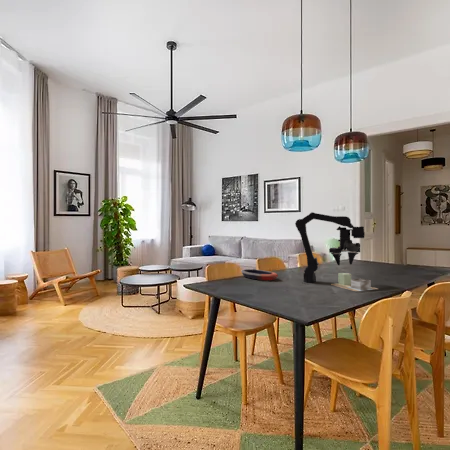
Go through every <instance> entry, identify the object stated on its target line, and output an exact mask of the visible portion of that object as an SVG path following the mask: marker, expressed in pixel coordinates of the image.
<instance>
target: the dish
mask: <svg viewBox="0 0 450 450" xmlns="http://www.w3.org/2000/svg"><path fill="white" fill-rule="evenodd" d="M240 271H241V274H242V276H243V277H245V278H247V279H250V278H252V279H251V280H255V279H257V281H268V280H269V281H275V280H277V278H278V277H279V275H278V274H277V273H276V272H275V271H274V272H273V271H270V270H269V271H268V270H262V269H256V268H253V269H252V268H251V269H250V268H249V269H247V268H245V269H241V270H240Z"/></svg>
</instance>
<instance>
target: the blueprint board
mask: <svg viewBox="0 0 450 450" xmlns="http://www.w3.org/2000/svg"><path fill="white" fill-rule="evenodd" d="M330 285H331V286H335V287H337V288H341V289H346V290H349V291H353V292H358V294H359V293H362V292H366V291H368V293H369V292H372V291H376V290H378V288H377V287H373V286H372V280H370V279H367V278H363V277H362V278H361V277H358V278H351V285H342V284H338V283H330Z"/></svg>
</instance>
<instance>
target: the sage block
mask: <svg viewBox="0 0 450 450" xmlns="http://www.w3.org/2000/svg"><path fill="white" fill-rule="evenodd" d="M337 274H338V275H337V277H338V278H337V279H338V280H337V282H338V283H337V284H342V285H351V279H352V274H351V273H348V272H338V273H337Z"/></svg>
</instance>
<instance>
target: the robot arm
mask: <svg viewBox="0 0 450 450" xmlns="http://www.w3.org/2000/svg"><path fill="white" fill-rule="evenodd" d="M312 220H318V221H323V222H328V223H333V224H336V225H339V226H338V227H337V228H335V229H336V230H337V231H339V239H338V240H337V242H339V246H337V247H330V248H329V251H328V252H329V253H330V255H332V256H333V259H334V260H335V262H336V265H337V266H340V264H341V256H342V252H343V253H344V252H347V256H348V263H349V265H352V264H353V262H354V259H355V257H356V256H357V255H358V254H359V253H361V243H359V242H355V243H353V240H352V239H351V237H353V239H365V226H364V225H363V226H354V224H352V222H351V221H352V220H351V219H350V217H349V216H347V215H346V216H343V215H342V216H339V215H338V216H334V215H328V214H322V213H316V212H313V211H311V212H310V213H309V214H307V215H306V216H305V217H303V218H299V219H297V220H296V221H295V223H294V224H295V227H296V230H297V231H298V233H299V235H300V238H301V241H302V244H303V248H304V252H305V256H306V264H307V266H306V267H305V268H304V270H303V271H304V273H303V284H305V285H306V284H313V283H317V276H316V271H317V270H318V269H319V268H318V267H319V262H318V257H315V256H314V254H313V250H312V246H311V243H310V240H309V236H308V233H307V232H308V231H307V224H308V223H310V222H311V221H312ZM341 226H342V227H341ZM347 228H348V229H347Z"/></svg>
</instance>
